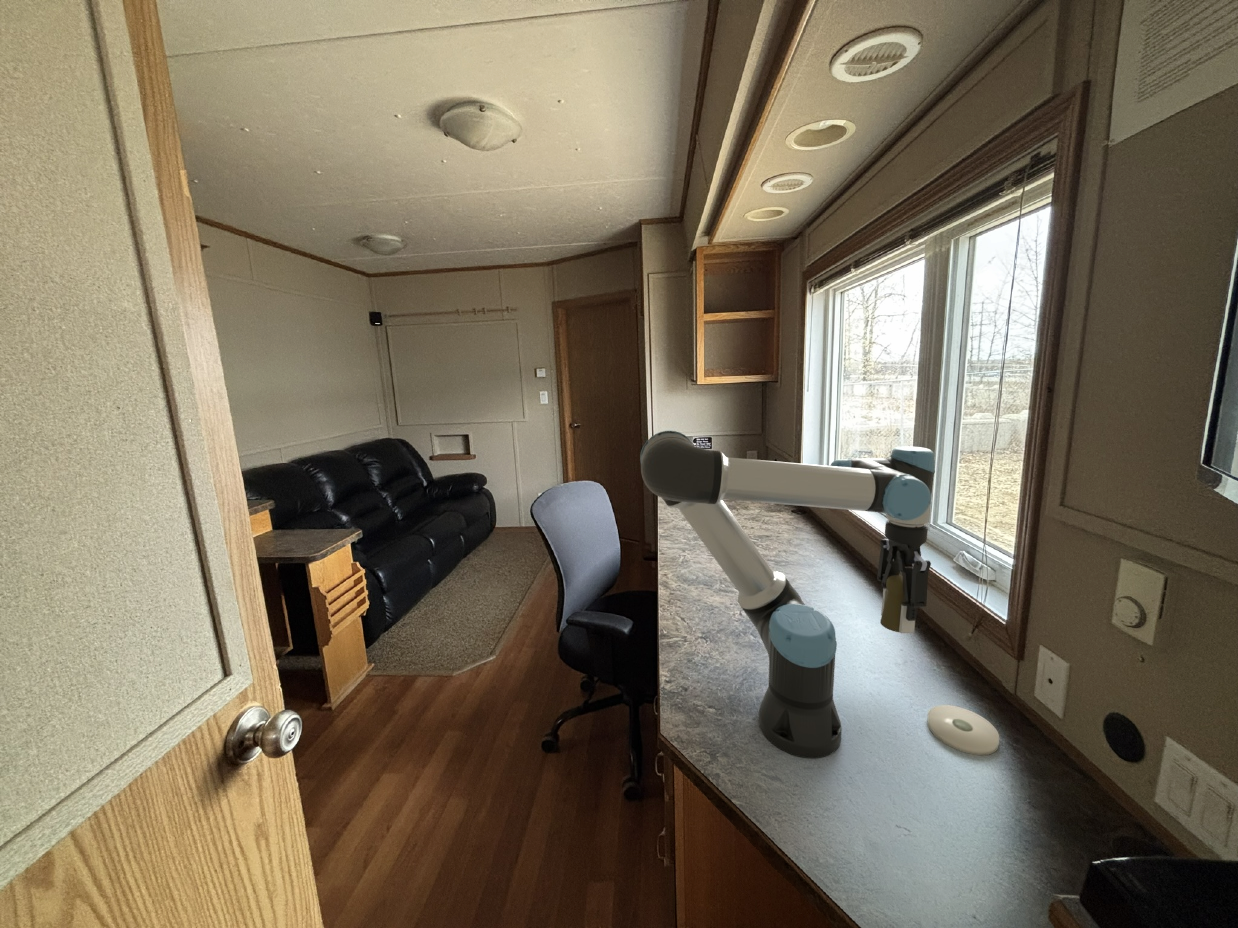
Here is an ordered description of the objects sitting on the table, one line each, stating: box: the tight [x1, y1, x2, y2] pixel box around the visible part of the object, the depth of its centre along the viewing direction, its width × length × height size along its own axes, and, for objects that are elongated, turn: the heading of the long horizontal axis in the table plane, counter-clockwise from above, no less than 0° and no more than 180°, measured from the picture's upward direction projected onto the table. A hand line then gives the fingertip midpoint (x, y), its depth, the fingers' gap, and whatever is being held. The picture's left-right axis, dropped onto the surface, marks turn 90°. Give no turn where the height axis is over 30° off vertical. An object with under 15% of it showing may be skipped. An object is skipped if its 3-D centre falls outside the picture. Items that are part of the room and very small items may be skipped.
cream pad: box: [926, 704, 1000, 756], centre depth 89 cm, size 11×11×2 cm
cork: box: [880, 574, 911, 633], centre depth 100 cm, size 6×6×11 cm
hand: (896, 623), depth 101 cm, fingers closed on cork, 6 cm apart
